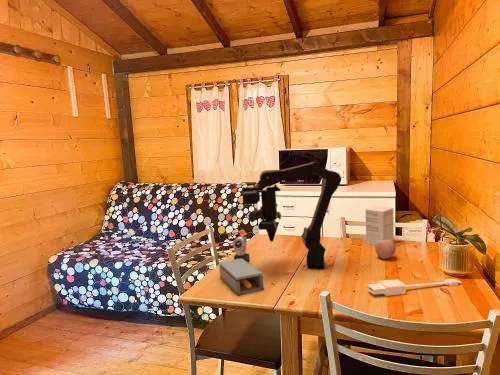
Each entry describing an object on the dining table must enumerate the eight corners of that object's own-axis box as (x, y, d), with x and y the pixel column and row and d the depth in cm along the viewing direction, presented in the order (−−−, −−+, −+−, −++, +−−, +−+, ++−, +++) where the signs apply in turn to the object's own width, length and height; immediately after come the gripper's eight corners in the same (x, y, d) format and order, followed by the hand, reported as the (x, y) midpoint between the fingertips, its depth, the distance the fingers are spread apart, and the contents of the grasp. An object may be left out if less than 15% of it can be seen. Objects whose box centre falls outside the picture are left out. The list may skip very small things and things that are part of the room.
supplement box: (376, 239, 176) (376, 205, 174) (394, 242, 169) (394, 207, 166) (365, 243, 170) (364, 208, 168) (383, 247, 163) (383, 211, 160)
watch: (232, 264, 152) (230, 239, 151) (239, 258, 160) (237, 234, 158) (244, 265, 150) (243, 240, 149) (251, 259, 158) (249, 234, 156)
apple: (392, 254, 153) (392, 236, 151) (398, 261, 145) (398, 242, 144) (373, 255, 153) (373, 237, 152) (377, 261, 146) (377, 242, 145)
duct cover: (242, 260, 141) (242, 258, 141) (261, 275, 125) (261, 273, 125) (219, 264, 137) (219, 262, 137) (236, 279, 121) (236, 277, 121)
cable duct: (244, 272, 142) (243, 260, 141) (263, 289, 126) (262, 275, 125) (220, 278, 138) (219, 265, 137) (237, 295, 122) (236, 281, 121)
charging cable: (464, 289, 119) (465, 279, 119) (374, 297, 114) (374, 287, 114) (453, 283, 124) (454, 274, 124) (366, 291, 119) (366, 281, 119)
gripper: (253, 199, 151) (256, 235, 153) (243, 208, 133) (246, 248, 135) (280, 198, 149) (282, 234, 151) (273, 207, 131) (275, 248, 133)
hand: (271, 241), depth 142 cm, fingers closed
